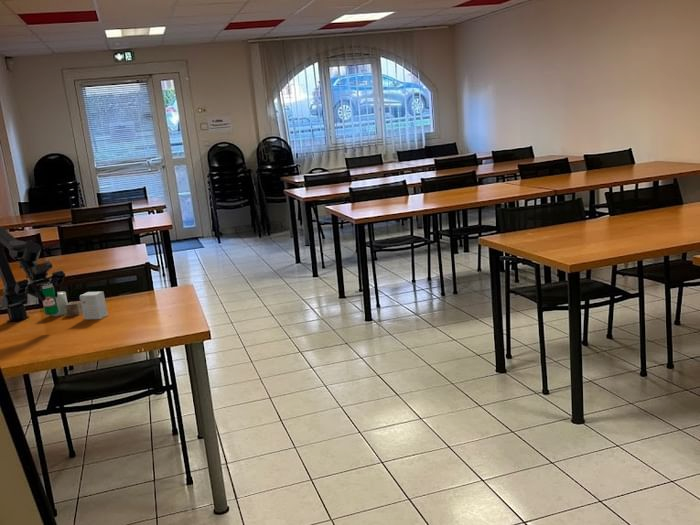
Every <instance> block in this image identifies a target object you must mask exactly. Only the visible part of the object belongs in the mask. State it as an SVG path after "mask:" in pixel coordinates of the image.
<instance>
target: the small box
mask: <svg viewBox="0 0 700 525" xmlns="http://www.w3.org/2000/svg"><path fill="white" fill-rule="evenodd" d="M79 301H81V306H82V311H83V312H82V315H83V319H84V320H101V319H104V318H105V317H107V316H108V315H109V312H108V307H107V303H106V299H105V293H104V290H103V291H86V292H85V293H83V294H80V295H79Z"/></svg>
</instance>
